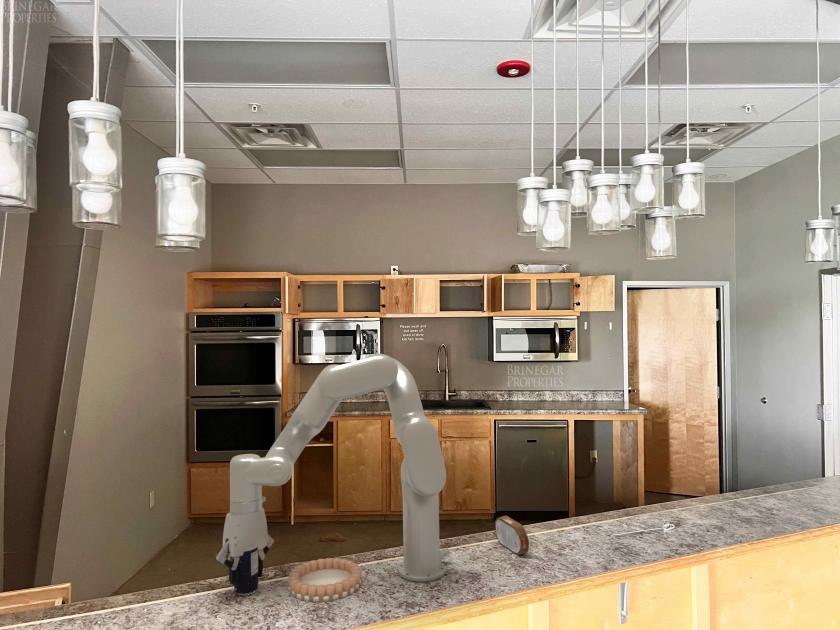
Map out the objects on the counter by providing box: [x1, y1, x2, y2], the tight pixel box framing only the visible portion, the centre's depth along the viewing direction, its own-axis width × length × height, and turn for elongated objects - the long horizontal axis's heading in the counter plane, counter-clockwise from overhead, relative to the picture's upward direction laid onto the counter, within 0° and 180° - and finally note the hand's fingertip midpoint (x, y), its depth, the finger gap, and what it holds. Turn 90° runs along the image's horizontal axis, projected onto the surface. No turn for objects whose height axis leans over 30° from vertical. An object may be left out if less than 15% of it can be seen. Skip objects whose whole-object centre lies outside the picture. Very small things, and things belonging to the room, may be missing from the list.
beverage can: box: [233, 544, 259, 596], centre depth 133 cm, size 6×6×12 cm
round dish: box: [287, 557, 363, 603], centre depth 136 cm, size 18×18×3 cm
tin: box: [494, 515, 530, 556], centre depth 157 cm, size 15×3×8 cm, turn 22°
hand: (246, 579), depth 133 cm, fingers closed on beverage can, 5 cm apart
